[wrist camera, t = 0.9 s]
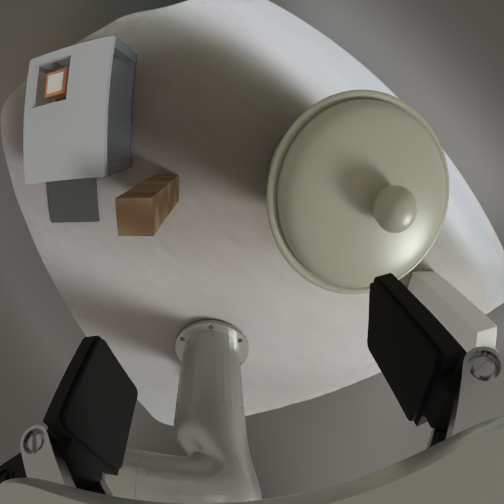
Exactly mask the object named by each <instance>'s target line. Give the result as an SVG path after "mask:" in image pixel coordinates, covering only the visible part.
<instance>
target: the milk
mask: <svg viewBox="0 0 504 504" xmlns="http://www.w3.org/2000/svg"><path fill="white" fill-rule="evenodd" d="M407 289H408V290H409V291H410V292H411V293H412V294H413V295H414V296H415V297H416V298H417V299H418V300H419V301H420V302H421V303H422V304H423V305H424V306H425V307H426V308H427V309H428V310H429V311H430V312H431V313H432V314H433V315H434V316H435V317H436V318H437V319H438V321H439V322H440V323H441V324H442V325H443V326H444V327H445V328H446V329H447V330H448V331H449V333H450V334H451V335H452V336H453V337H454V338H455V339H456V340H457V342H458V343H459V344H460V345H461V346H462V347H463V349H464V350H465V351H466V352H467V353H468V352H469V351H470V350H471V349H473V348H476V347H483V346H485V347H489V348H492V349H494V350H496V348H495V345H496V335H497V326H496V325H495V324H494V323H493V322H492V321H491V320H490V319H489V318H488V317H487V316H486V315H485V314H484V313H483V312H482V311H480V310H479V309H478V308H477V307H476V306H475V305H474V304H473V303H472V302H470V301H469V300H468V299H467V298H466V297H465V296H464V295H462V294H461V293H460V292H459V291H458V290H457V289H455V288H454V287H453V286H452V285H451V284H449V283H448V282H447V281H446V280H445V279H443V278H442V277H441V276H440V275H439V274H437V273H436V272H435V271H413V272H412V276H411V279H410V282H409V285H408V288H407ZM496 351H497V350H496ZM497 352H498V351H497ZM498 353H499V352H498ZM499 354H500V353H499Z"/></svg>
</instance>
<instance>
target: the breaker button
mask: <svg viewBox="0 0 504 504" xmlns="http://www.w3.org/2000/svg"><path fill="white" fill-rule="evenodd" d="M68 75H69V68H65V69H61V70H58V71H55V72H51V73H48V74H47V79H46V88H45V98H49V99H57V100H63V99H66V94H67V83H68Z"/></svg>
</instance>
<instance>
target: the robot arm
mask: <svg viewBox="0 0 504 504" xmlns="http://www.w3.org/2000/svg"><path fill="white" fill-rule="evenodd" d="M367 343H368V348H369V350H370V352H371V354H372V356H373V357H374V359H375V361H376V363H377V364H378V366H379V368H380V370H381V371H382V373H383V375H384V377H385V378H386V380H387V382H388V383H389V386H390V387H391V389H392V391H393V393H394V394H395V396H396V398H397V400H398V402H399V404H400V406H401V407H402V409H403V411H404V413H405V415H406V417H407V418H408V420H409V421H412V420H414V422H415V424H416V426H419V425H421V424H423V423H425V422H427V421H428V423H429V424H430V426H431V428H432V431H431V434H430V438H429V441H428V445H427V448H426V450H424V451H422V452H420V453H418V454H415V455H413V456H411V457H409V458H407V459H404V460H402V461H400V462H398V463H395V464H393V465H390V466H388V467H385V468H383V469H380V470H377V471H375V472H372V473H369V474H367V475H364V476H361V477H358V478H355V479H352V480H349V481H346V482H342V483H339V484H336V485H332V486H328V487H325V488H320V489H317V490H312V491H308V492H303V493H299V494H294V495H289V496H282V497H277V498H270V499H263V500H262V498H261V491H260V487H259V484H258V481H257V477H256V475H255V471H254V468H253V465H252V462H251V458H250V453H249V448H248V442H247V434H246V424H245V414H244V403H243V391H242V379H241V367H240V366H241V365H242V364H243V363H244V362H245V360H246V358H247V356H248V344H247V340H246V338H245V336H244V335H243V334H242V332H241V331H240V330H238V329H237V328H236V327H234V326H232V325H231V324H228V323H225V322H222V321H217V320H202V321H198V322H194V323H192V324H190V325H188V326H186V327H185V328H183V329H182V331H181V332H180V333H179V334H178V336H177V339H176V343H175V352H176V355H177V357H178V359H179V360H180V362H181V363H182V364H181V371H180V378H179V385H178V393H177V401H176V409H175V418H174V431H175V435H176V437H177V439H178V441H179V443H180V445H181V446H182V447H183V449H184V450H185V451H186V452H187V454H188V455H189V456H190V457H188V456H172V455H165V454H158V453H152V452H146V451H140V450H133V449H126V444H127V440H128V435H129V430H130V426H131V421H132V417H133V412H134V408H135V404H136V400H137V395H138V393H137V389H136V387H135V385H134V384H133V382H132V381H131V380H130V378H129V377H128V375H127V374H126V372H125V371H124V369H123V368H122V366H121V365H120V363H119V362H118V360H117V359H116V357H115V356H114V354H113V353H112V351H111V349H110V348H109V346H108V345H107V343H106V341H105V340H103V339H101V338H100V337H99V336H91V337H85V338H84V339H83V340H82V342H81V344H80V345H79V347H78V349H77V351H76V353H75V355H74V357H73V359H72V361H71V362H70V364H69V366H68V368H67V370H66V372H65V374H64V376H63V378H62V380H61V382H60V384H59V386H58V389H57V391H56V393H55V395H54V397H53V400H52V402H51V404H50V406H49V408H48V411H47V413H46V415H45V417H44V420H43V422H44V423H45V424H46V425H47V426H48V429H47V430H46V429H45V428H44V427H43V426H40V425H34V426H32V427H30V428H29V429H28V430H26V432H25V433H24V434H23V436H22V438H21V442H20V448H21V453H19V454H18V455H16V456H15V457H13V458H12V459H10V460H9V461H7V462H6V463H4V464H2V465H1V466H0V504H504V360H503V358H502V356H501V355H500V354H499V353H498V352H497V351H496V350H494V349H492V348H489V347H485V346H483V347H476V348H473V349H471V350H470V351H469V352H468V353H467V352H466V351H465V350H464V349H463V347H462V346H461V345H460V344H459V343H458V342H457V340H456V339H455V338H454V337H453V336H452V335H451V334H450V333H449V331H448V330H447V329H446V328H445V327H444V326H443V325H442V324H441V323H440V322H439V321H438V319H437V318H436V317H435V316H434V315H433V314H432V313H431V312H430V311H429V310H428V309H427V308H426V307H425V306H424V305H423V304H422V303H421V302H420V301H419V300H418V299H417V298H416V297H415V296H414V295H413V294H412V293H411V292H410V291H409V290H408V289H407V288H406V287H405V286H404V285H403V284H402V283H401V282H400V281H399V280H398V279H397V278H396V277H395V276H394V275H393V274H392V273H388V274H384V275H381V276H377V277H375V278H374V282H372V283H371V284H370V298H369V324H368V340H367ZM103 472H104V473H105V480H104V479H103V477H102V473H103Z"/></svg>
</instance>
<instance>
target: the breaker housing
mask: <svg viewBox="0 0 504 504" xmlns="http://www.w3.org/2000/svg"><path fill="white" fill-rule="evenodd" d="M113 54H114V55H115V56H117V57H114V58H113ZM70 57H71V60H70V65H69V66H63V65H60V64H57V63H54V62H56V61H60V60H63V59H66V58H70ZM136 57H137V55H136V54H135V53H134V52H133V51H132V50H130V49H129V48H128V47H127V46H126V45H124V44H123V43H122V42H121V41H120V40H118V39H117V38H116V37H115V36H109V37H104V38H99V39H95V40H91V41H87V42H83V43H80V44H76V45H73V46H69V47H66V48H63V49H60V50H57V51H54V52H51V53H48V54H45V55H42V56H40V57H37V58H34V59H32V60H30V65H29V72H28V78H27V86H26V96H25V109H24V133H23V149H24V174H25V185H26V184H34V183H42V182H51V181H60V180H70V179H81V178H94V177H106V176H108V175H111V174H113V173H116V172H119V171H121V170H124V169H127V168H130V167H131V118H132V100H133V86H134V75H135V66H136ZM65 68H69V75H68V83H67V94H66V99H63V100H57V99H51V101H50V103H49V104H45V105H42V106H38V107H35V101H36V90H37V81H38V74H39V71H41V72H45V73H51V72H55V71H58V70H61V69H65Z"/></svg>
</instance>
